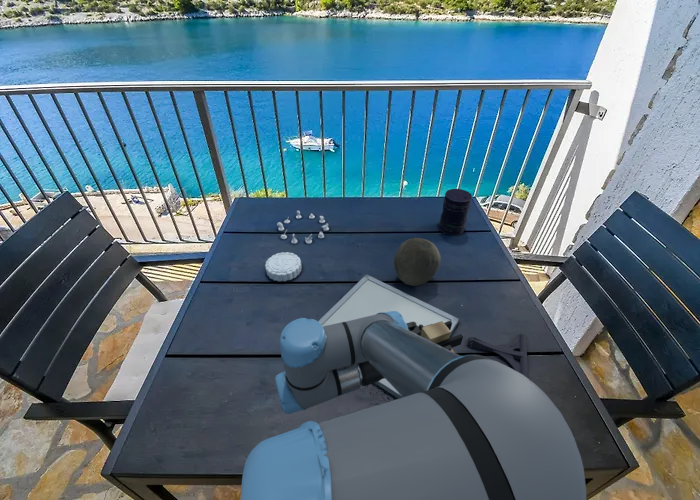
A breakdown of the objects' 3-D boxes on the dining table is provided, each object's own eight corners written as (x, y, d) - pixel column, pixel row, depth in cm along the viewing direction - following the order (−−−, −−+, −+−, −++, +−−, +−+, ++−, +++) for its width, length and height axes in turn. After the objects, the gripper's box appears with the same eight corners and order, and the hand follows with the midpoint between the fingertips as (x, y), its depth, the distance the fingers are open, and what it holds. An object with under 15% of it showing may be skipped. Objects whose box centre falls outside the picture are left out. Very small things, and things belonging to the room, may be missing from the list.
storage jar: (434, 229, 138) (440, 195, 128) (446, 218, 143) (452, 186, 134) (457, 238, 133) (465, 204, 123) (468, 227, 138) (477, 194, 129)
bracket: (469, 324, 100) (471, 317, 99) (525, 338, 96) (528, 332, 95) (464, 365, 90) (466, 359, 88) (526, 383, 86) (530, 377, 84)
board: (407, 404, 82) (408, 400, 80) (305, 338, 96) (304, 334, 95) (457, 323, 100) (459, 318, 99) (366, 278, 115) (366, 274, 114)
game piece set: (269, 239, 132) (268, 230, 130) (291, 212, 147) (290, 204, 145) (317, 248, 128) (316, 240, 126) (335, 219, 143) (334, 211, 140)
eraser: (415, 376, 75) (421, 346, 68) (404, 357, 79) (409, 327, 72) (454, 361, 78) (464, 331, 71) (441, 344, 82) (449, 314, 75)
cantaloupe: (431, 299, 108) (439, 262, 99) (387, 288, 112) (391, 251, 102) (438, 270, 118) (446, 235, 109) (398, 261, 122) (402, 226, 113)
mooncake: (261, 280, 115) (259, 272, 112) (272, 257, 124) (270, 249, 122) (297, 283, 113) (296, 275, 111) (305, 259, 123) (304, 252, 121)
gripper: (341, 347, 77) (432, 317, 84) (372, 415, 65) (475, 373, 72) (340, 325, 72) (437, 295, 79) (373, 394, 60) (484, 351, 67)
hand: (455, 332), depth 75 cm, fingers closed on eraser, 3 cm apart
